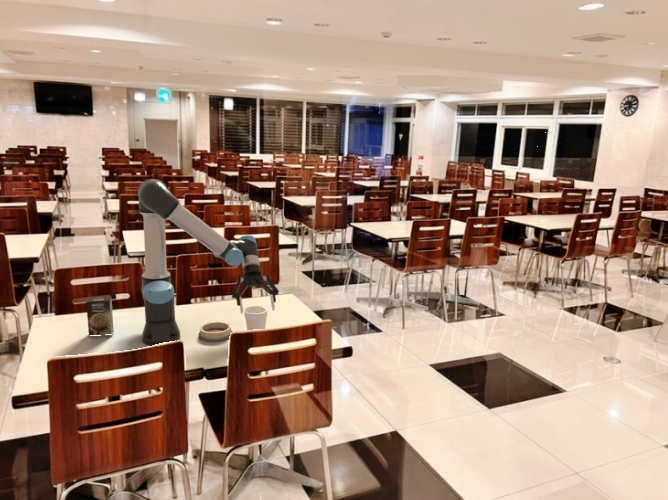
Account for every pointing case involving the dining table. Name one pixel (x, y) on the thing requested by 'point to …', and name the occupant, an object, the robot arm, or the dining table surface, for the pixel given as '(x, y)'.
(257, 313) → the foam cup
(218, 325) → the collar seat
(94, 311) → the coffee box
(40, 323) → the dining table surface
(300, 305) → the dining table surface
